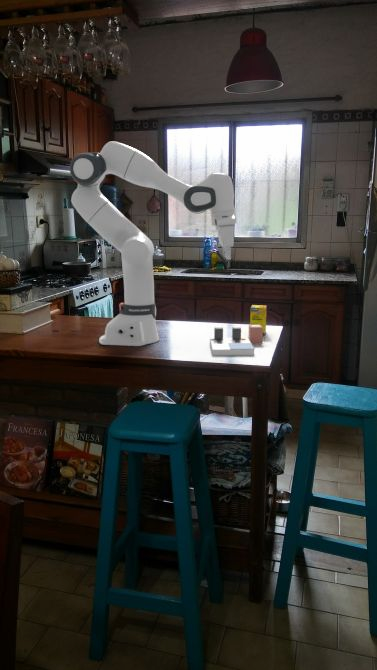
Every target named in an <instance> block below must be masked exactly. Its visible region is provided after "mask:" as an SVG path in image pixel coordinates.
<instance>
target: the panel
mask: <svg viewBox="0 0 377 670" xmlns="http://www.w3.org/2000/svg"><path fill="white" fill-rule="evenodd" d="M209 345H210V348H211V349H210V350H211V353H212V356H254V355H255V347H254V345H253V343H251V342H250V341H249V337H241V340H233V339H232V337H223V340H215V339H214V337H209Z"/></svg>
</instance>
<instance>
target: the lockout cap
mask: <svg viewBox="0 0 377 670" xmlns="http://www.w3.org/2000/svg"><path fill="white" fill-rule="evenodd" d="M263 336H264V335H263V327H262V326H261V325H250V324H248V339H249V341H250V342H251V344H263Z"/></svg>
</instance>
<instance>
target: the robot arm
mask: <svg viewBox="0 0 377 670" xmlns="http://www.w3.org/2000/svg"><path fill="white" fill-rule="evenodd" d="M69 172H70V175H71V178H72V179H73V181H75V182H76V183H77V187H76V189H74V190H73V193H72V195H71V200H70V201H71V205H72V207H73V208H74V209H75V210H76V212H77V213H78V214H79V216H81V218H82V219H83V220H84V221H85V222H86V223H87V224H88V225H89V226H90V227H91V228H92V229H93V230H94V231H95V232H96V233H97V234H98V235H99V236H100V237H102V239H104V240H105V241H106V242H107V243H108V244H110V245H111V246H112V247H114V248H115V249H116V250H117V251H119V252H120V254H121V267H122V277H123V290H124V292H123V293H124V295H123V296H124V299H123V300H124V302H120V303H119V304H118V307H119V309H118V310H119V311H118V312H119V313H118V314H117V315H116V316H115V317H113V318H112V319H111V320H110V321H109V322H108V323H106V326H105V331H104V334H103V335H101V336H100V337H99V338H98V339H99V340H98V343H99V344H100V345H106V346H109V345H110V346H128V347H132V346H133V347H142V346H145V345H149V344H154V343H157V342H158V341H160V336H159V333H158V329H157V322H156V317H157V307H156V302H155V279H154V264H153V263H154V262H153V260H154V259H153V256H154V255H155V246H154V243H153V241H152V240H151V239H150V238H149V237H148V236H147V235H146V234H145V233H144V232H142V230H141V229H140V228H138V227H137V225H135V224H134V223H132V222H133V221H130V220H129V219H128V217H126V216H125V215H124V214H123V213H122V212H121V210H118V208H117V207H116V206H115V205H114V204H113V203H112V202H110V200H109V199H108V198H107V197H106V196H105V195H104V194H103V193H102V192H101V189H102V186H103V184H104V182H105V180H106V178H107V175H114V176H117V177H119V178H121V179H122V180H125V181H126V182H129V183H131V184H133V185H137V186H139V187H143V188H144V187H145V188H149V189H150V188H151V189H156V190H158V191H161V192H163V193H165V194H167V195H169V196H171V197H173V198H174V199H177V200H178V201H179V202H180V203H181V204H183V206H184V207H185V208H186V209H187V211H189V212H190V213H192V214H196V215H198V214H203V213H205V212H206V211H208V210H209V211H210V219H211V227H212V226H213V227H215V231H217V233H218V243H219V245H220V246H221V249H222V255H223V257H224V258H225V259H226V261H229V260H231V259H232V256H231V255H232V254H231V253H232V248H233V247H234V244H235V227H234V226H235V225H236V224H237V215H236V214H237V213H236V207H235V204H234V203H235V202H234V201H235V190H234V184H233V180H232V178H231V176H230V175H228V174H227V173H221V172H216V173H215V172H212V173H210V174H209V175H208V176H206V177H205V178H204V179H203V180H201V181H200V182H198V183H196V184H194V185H190V184H188V183H185V182H183V181H181V180H179V179H177V178H175V177H174V176H171V175H170V174H168V173H167V172H166V171H164V170H163V169H162V168H161V167H160V166H159V165H158V164H157V163H156V161H154V160H153V159H152V158H151V157H149V156H148V155H147V154H145V153H144V152H142V151H140V150H138V149H137V148H134V147H132V146H129V145H127V144H125V143H121V142H119V141H115V140H114V141H113V140H112V141H108V142H107V143H105V144H104V146H103V147H102V148H101V150H100V152H97V151H96V152H93V151H92V152H91V151H90V152H81V153H78V154H77V155H75V156H74V157H73V158H72V159H71V161H70V163H69Z"/></svg>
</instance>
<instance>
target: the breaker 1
mask: <svg viewBox="0 0 377 670" xmlns="http://www.w3.org/2000/svg"><path fill="white" fill-rule="evenodd" d="M213 331H214V336H213V338H214V339H215V340H223V338H224V328H223V327H219V326H218V327H214V328H213Z"/></svg>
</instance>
